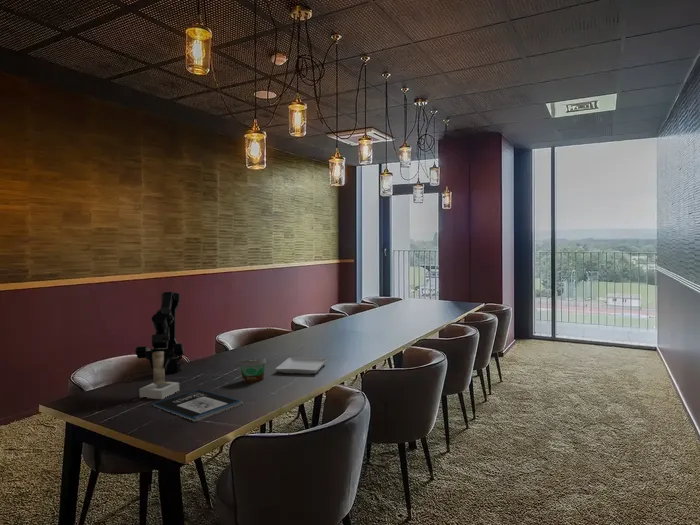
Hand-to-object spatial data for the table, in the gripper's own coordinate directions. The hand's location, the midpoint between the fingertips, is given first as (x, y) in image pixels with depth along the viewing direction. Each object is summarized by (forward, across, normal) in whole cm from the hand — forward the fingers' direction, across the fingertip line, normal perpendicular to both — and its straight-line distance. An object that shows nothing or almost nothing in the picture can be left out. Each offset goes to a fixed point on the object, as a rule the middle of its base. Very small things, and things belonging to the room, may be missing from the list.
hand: (158, 368), depth 193 cm
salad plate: (-6, +63, +23) cm, 67 cm away
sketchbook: (+21, +17, -4) cm, 27 cm away
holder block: (+7, 0, +9) cm, 11 cm away
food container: (+3, +39, +13) cm, 41 cm away
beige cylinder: (+4, 0, +6) cm, 7 cm away
